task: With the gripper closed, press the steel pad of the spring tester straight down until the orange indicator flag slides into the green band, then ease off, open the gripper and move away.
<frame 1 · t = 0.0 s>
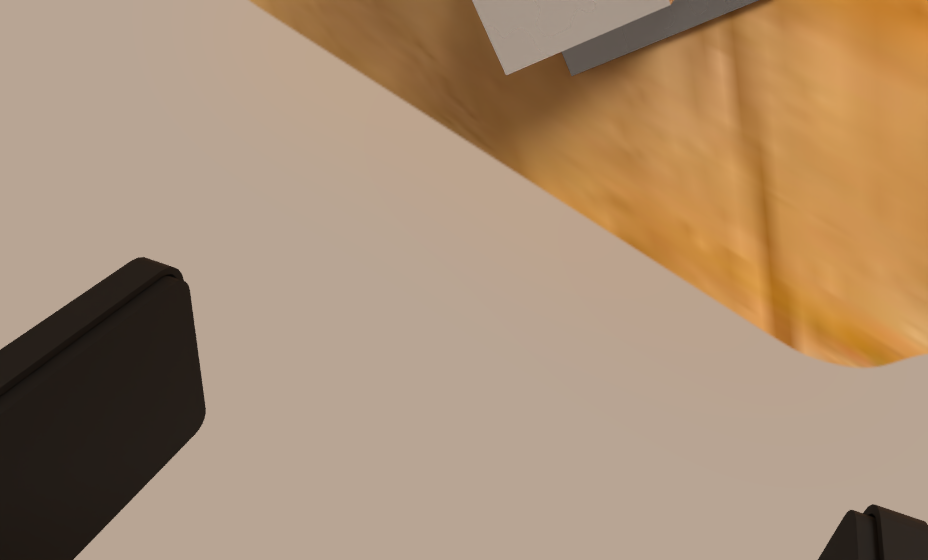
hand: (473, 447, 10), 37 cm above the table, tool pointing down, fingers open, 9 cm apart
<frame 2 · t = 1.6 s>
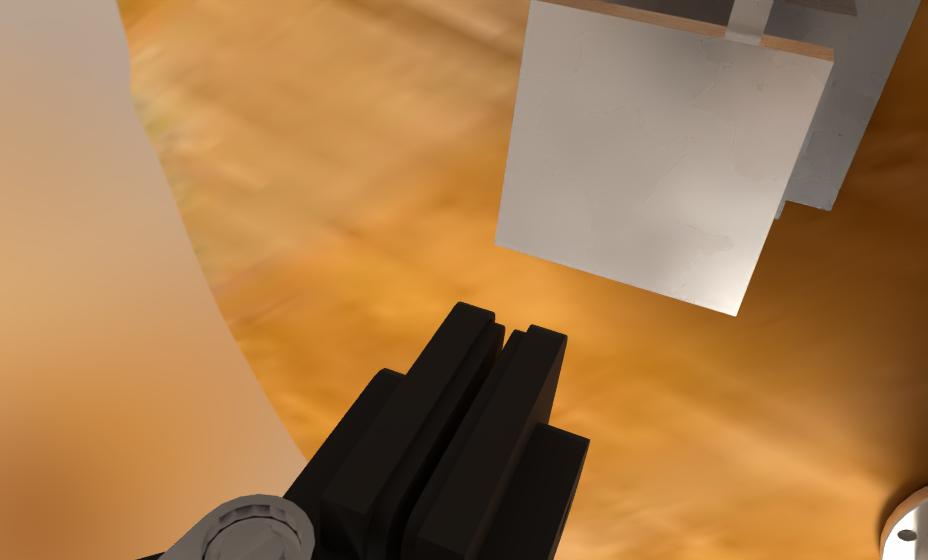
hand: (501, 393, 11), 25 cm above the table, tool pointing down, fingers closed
tester: (708, 30, 31), on the table
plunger: (677, 71, 22), point 11 cm above the table, slide at 0.0 cm
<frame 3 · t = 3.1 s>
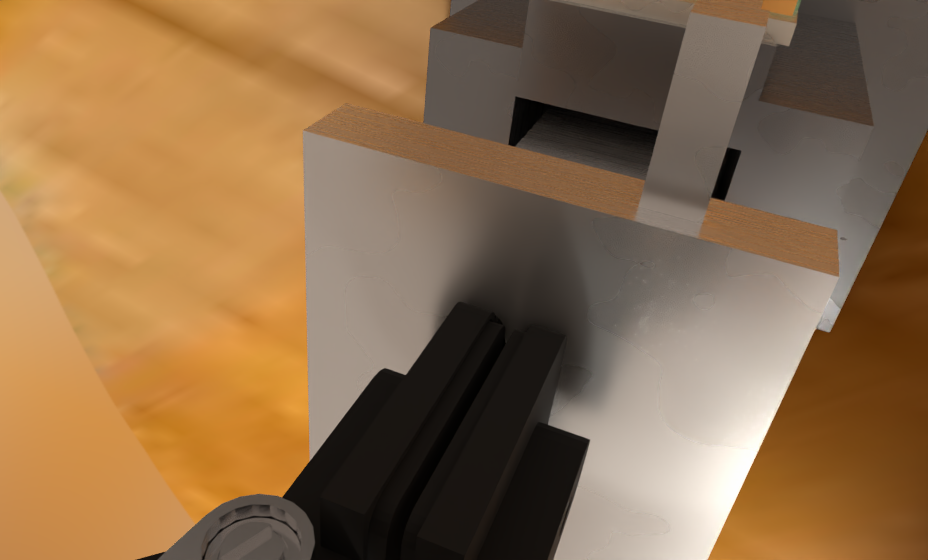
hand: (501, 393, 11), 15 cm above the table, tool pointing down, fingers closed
tester: (665, 95, 23), on the table
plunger: (594, 204, 14), point 11 cm above the table, slide at 0.0 cm, touching gripper
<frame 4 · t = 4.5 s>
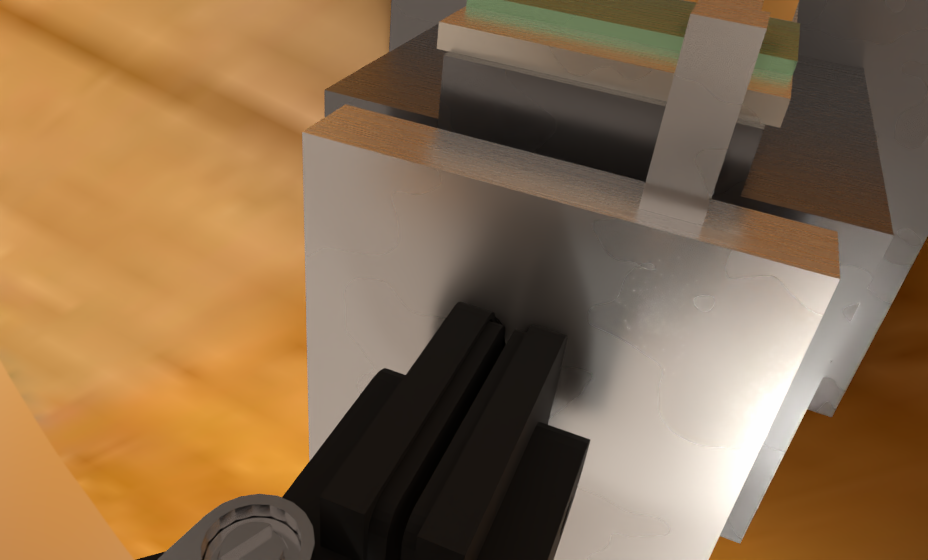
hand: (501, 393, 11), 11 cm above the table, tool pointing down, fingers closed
tester: (640, 144, 20), on the table
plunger: (594, 205, 14), point 6 cm above the table, slide at 4.2 cm, touching gripper, indicator
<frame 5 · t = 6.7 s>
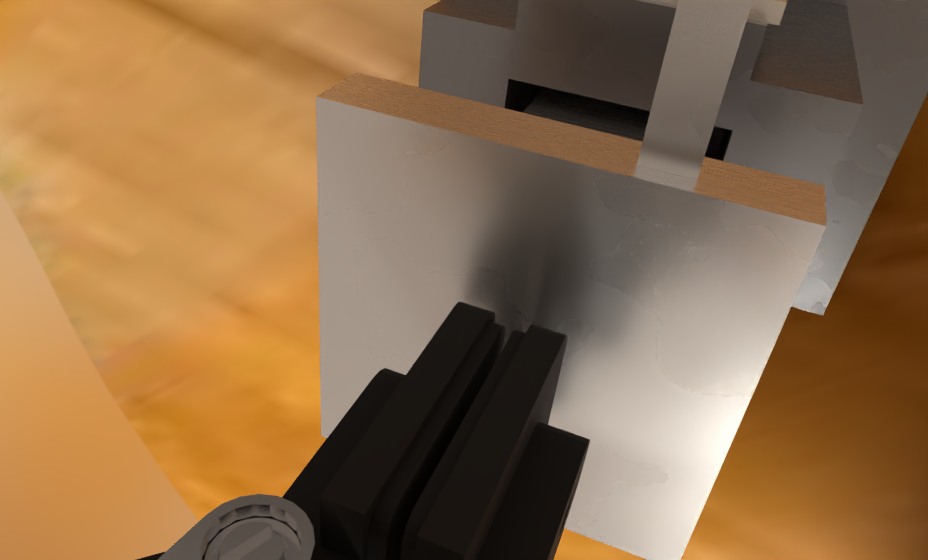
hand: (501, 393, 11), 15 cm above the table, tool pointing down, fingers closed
tester: (659, 80, 23), on the table
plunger: (593, 173, 15), point 10 cm above the table, slide at 0.5 cm
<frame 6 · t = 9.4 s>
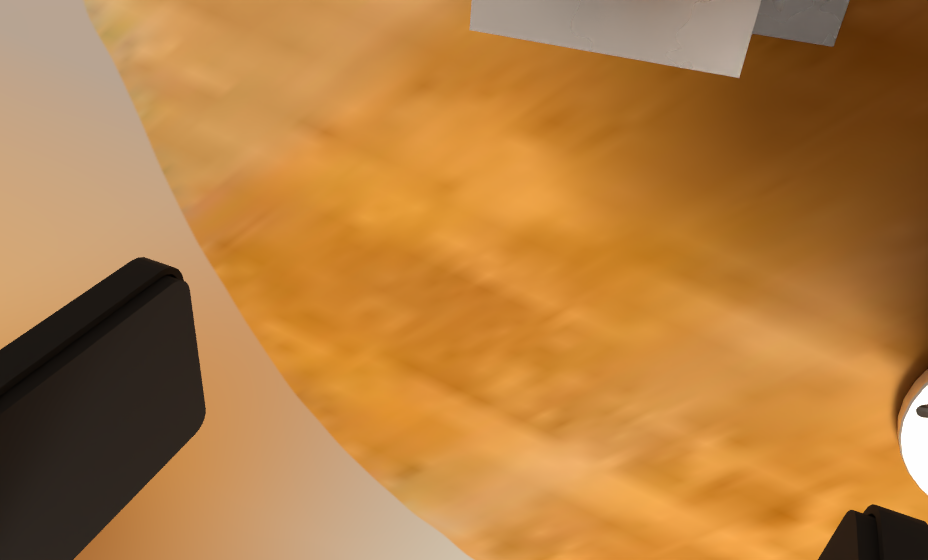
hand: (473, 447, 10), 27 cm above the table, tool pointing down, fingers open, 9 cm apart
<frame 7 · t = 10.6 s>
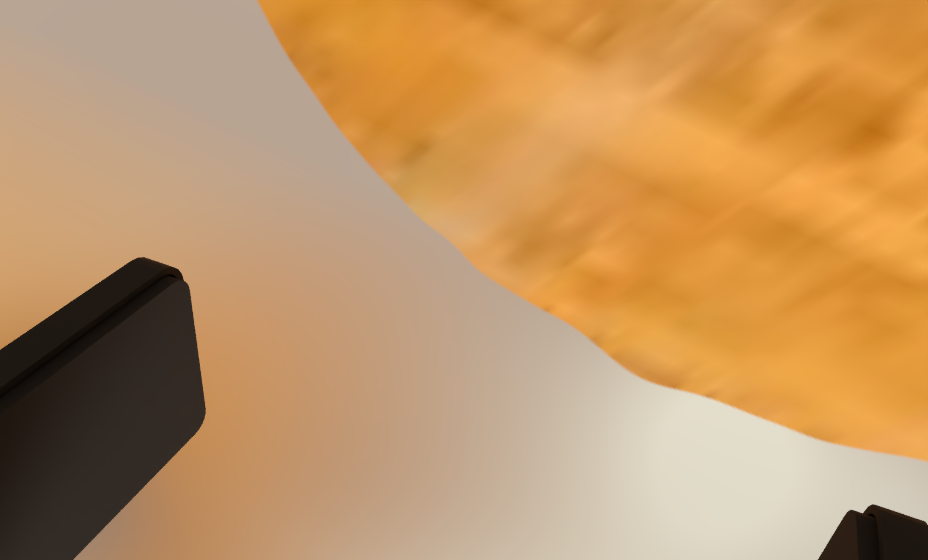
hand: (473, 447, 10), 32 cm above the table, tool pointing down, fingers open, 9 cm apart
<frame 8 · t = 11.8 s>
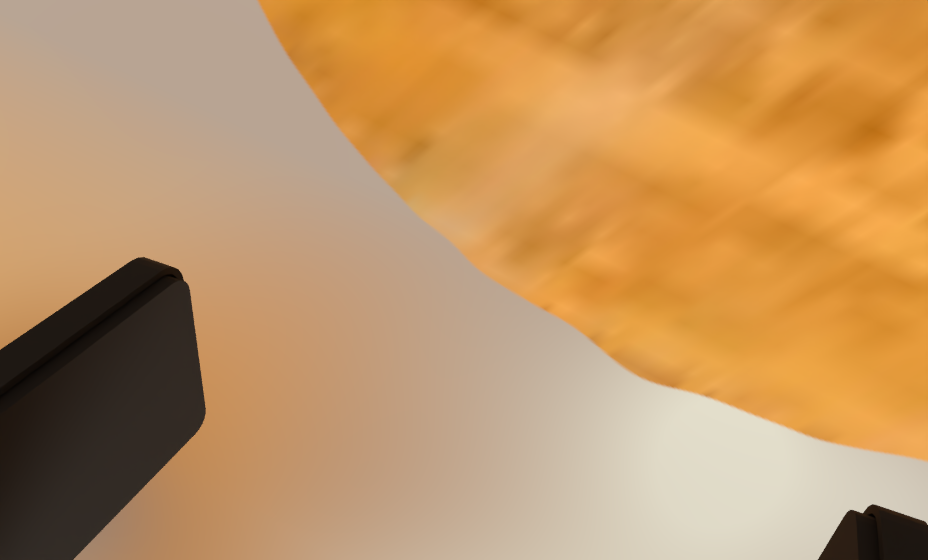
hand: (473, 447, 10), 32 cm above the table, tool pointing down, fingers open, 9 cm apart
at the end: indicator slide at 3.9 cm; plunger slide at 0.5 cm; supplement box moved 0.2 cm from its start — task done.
